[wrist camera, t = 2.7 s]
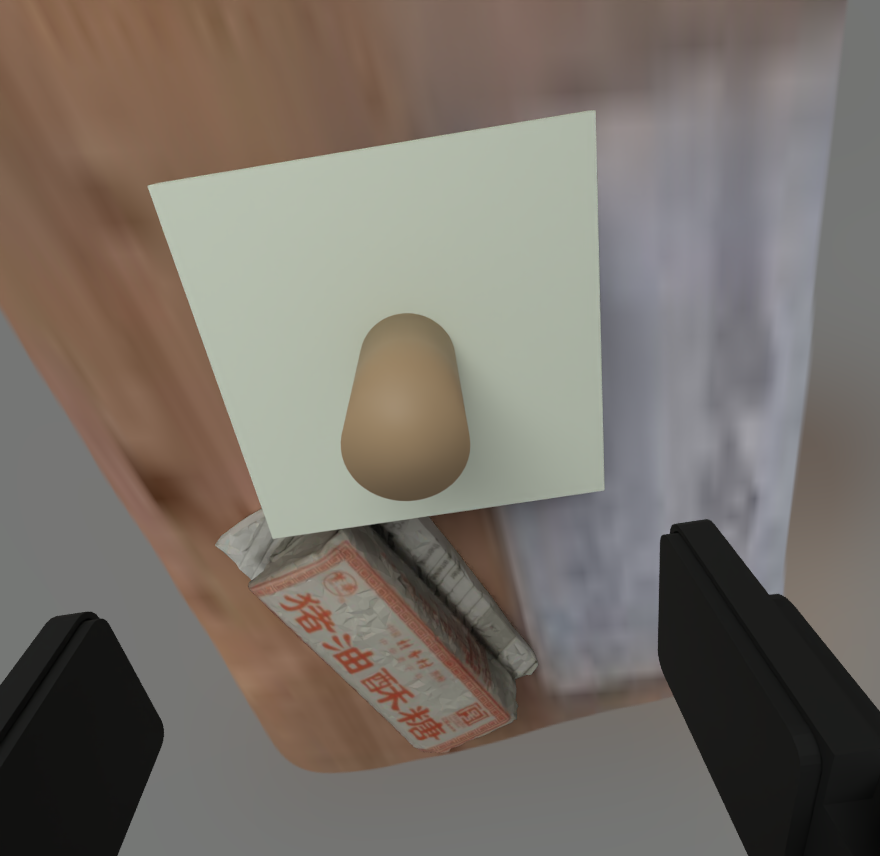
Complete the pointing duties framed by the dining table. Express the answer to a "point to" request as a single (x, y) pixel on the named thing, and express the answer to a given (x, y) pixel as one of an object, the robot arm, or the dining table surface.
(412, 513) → the lid
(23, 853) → the robot arm
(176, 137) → the dining table surface
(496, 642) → the packaged product
